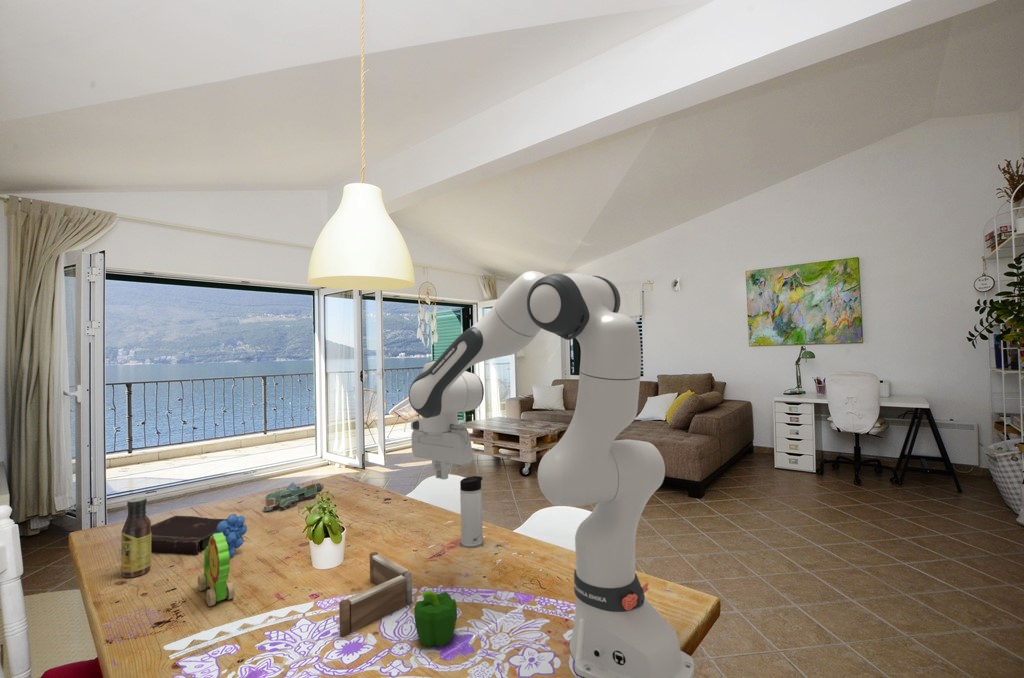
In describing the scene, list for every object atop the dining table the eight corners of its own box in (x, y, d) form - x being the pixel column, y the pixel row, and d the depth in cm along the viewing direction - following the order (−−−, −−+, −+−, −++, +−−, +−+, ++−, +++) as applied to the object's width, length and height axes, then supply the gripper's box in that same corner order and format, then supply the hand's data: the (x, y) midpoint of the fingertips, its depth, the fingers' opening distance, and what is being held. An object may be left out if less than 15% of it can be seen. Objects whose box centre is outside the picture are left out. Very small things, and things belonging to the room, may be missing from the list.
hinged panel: (375, 577, 117) (375, 551, 118) (409, 598, 107) (408, 569, 107) (368, 580, 116) (368, 554, 116) (401, 602, 106) (401, 573, 106)
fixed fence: (414, 604, 105) (413, 574, 105) (342, 639, 93) (342, 605, 93) (409, 600, 107) (408, 571, 107) (338, 635, 94) (337, 602, 94)
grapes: (235, 548, 139) (235, 507, 140) (252, 550, 137) (252, 509, 137) (198, 565, 128) (197, 521, 129) (216, 568, 126) (215, 524, 126)
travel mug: (480, 550, 133) (479, 480, 134) (458, 549, 134) (457, 479, 135) (486, 541, 139) (484, 474, 140) (465, 540, 141) (463, 473, 141)
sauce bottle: (119, 574, 124) (119, 499, 125) (148, 565, 129) (148, 493, 129) (123, 582, 120) (123, 504, 120) (153, 573, 124) (153, 498, 125)
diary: (196, 558, 134) (195, 541, 135) (123, 554, 139) (122, 537, 139) (243, 532, 153) (243, 517, 153) (177, 529, 157) (177, 514, 157)
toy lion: (196, 588, 116) (195, 526, 116) (221, 580, 119) (220, 520, 120) (211, 613, 104) (210, 545, 105) (238, 603, 108) (237, 537, 108)
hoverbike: (257, 511, 173) (257, 488, 173) (316, 492, 194) (316, 472, 194) (272, 515, 168) (272, 492, 168) (331, 495, 189) (331, 475, 189)
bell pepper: (459, 627, 97) (458, 578, 97) (456, 652, 88) (454, 599, 89) (418, 628, 96) (417, 580, 97) (411, 655, 88) (410, 601, 88)
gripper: (477, 424, 114) (479, 481, 113) (426, 419, 128) (427, 470, 127) (457, 427, 109) (459, 487, 108) (406, 422, 123) (408, 475, 122)
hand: (441, 478), depth 118 cm, fingers closed
